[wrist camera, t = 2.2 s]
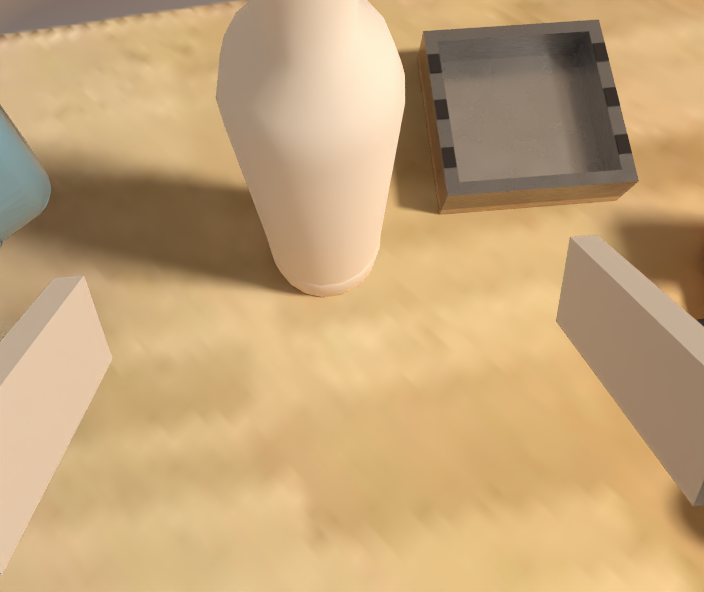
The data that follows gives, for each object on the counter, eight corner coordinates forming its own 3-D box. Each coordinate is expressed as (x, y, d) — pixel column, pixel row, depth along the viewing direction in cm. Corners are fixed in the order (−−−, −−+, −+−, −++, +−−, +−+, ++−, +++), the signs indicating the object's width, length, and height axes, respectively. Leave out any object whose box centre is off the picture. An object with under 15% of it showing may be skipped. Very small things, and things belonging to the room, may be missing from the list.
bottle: (262, 287, 40) (50, -107, 11) (285, 191, 42) (158, -356, 13) (368, 307, 40) (436, -41, 11) (386, 210, 42) (486, -305, 13)
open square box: (439, 214, 42) (447, 195, 38) (417, 59, 45) (423, 30, 42) (616, 200, 42) (639, 180, 39) (580, 48, 46) (599, 18, 43)
